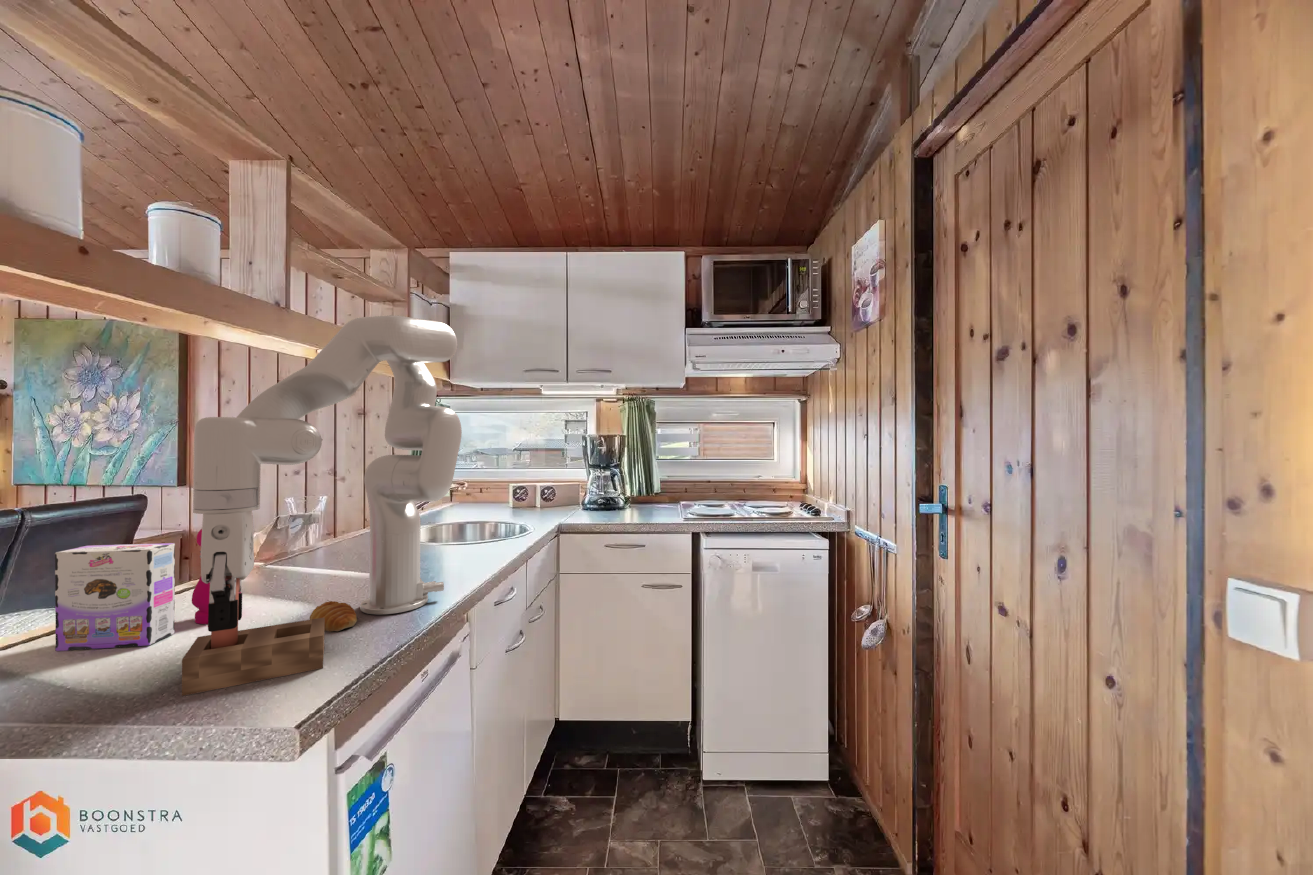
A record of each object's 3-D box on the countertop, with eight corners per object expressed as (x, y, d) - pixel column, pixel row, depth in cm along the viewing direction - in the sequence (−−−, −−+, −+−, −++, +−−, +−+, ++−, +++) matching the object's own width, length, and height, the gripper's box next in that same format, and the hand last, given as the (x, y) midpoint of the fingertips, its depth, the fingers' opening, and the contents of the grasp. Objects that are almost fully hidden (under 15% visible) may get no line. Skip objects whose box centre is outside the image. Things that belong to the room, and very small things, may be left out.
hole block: (324, 647, 84) (324, 617, 84) (322, 668, 77) (323, 635, 77) (197, 669, 76) (197, 636, 76) (181, 696, 68) (182, 659, 68)
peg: (239, 640, 76) (240, 574, 76) (235, 647, 73) (237, 579, 74) (213, 644, 74) (214, 577, 74) (208, 651, 72) (210, 582, 72)
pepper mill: (250, 612, 100) (251, 512, 100) (215, 626, 93) (216, 518, 93) (217, 611, 101) (218, 512, 101) (180, 624, 94) (181, 517, 94)
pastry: (367, 625, 95) (367, 605, 95) (327, 637, 89) (327, 616, 89) (343, 615, 100) (343, 596, 100) (304, 626, 94) (304, 606, 94)
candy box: (176, 633, 90) (177, 541, 90) (148, 647, 84) (149, 548, 84) (86, 637, 87) (87, 543, 88) (51, 652, 82) (52, 551, 82)
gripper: (251, 505, 69) (249, 638, 69) (266, 494, 83) (264, 605, 83) (178, 508, 65) (175, 650, 65) (206, 496, 79) (204, 613, 79)
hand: (225, 624), depth 74 cm, fingers closed on peg, 3 cm apart
